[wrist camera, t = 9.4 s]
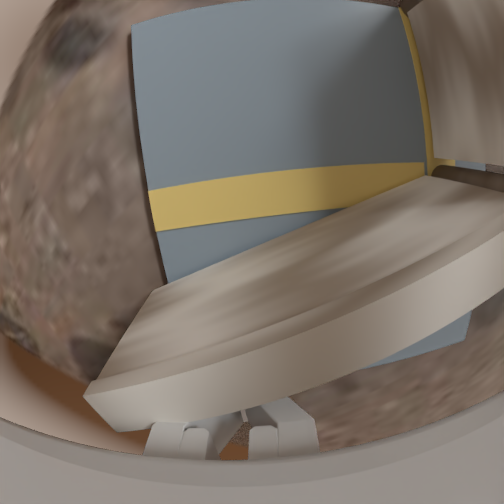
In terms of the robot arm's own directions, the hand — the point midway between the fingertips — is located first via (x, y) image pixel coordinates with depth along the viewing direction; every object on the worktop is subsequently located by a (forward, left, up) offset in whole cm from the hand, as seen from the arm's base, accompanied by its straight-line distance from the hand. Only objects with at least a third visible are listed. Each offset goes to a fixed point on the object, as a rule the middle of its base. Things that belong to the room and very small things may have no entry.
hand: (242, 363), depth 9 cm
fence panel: (-3, +2, -3) cm, 5 cm away
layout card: (-4, +5, -4) cm, 7 cm away
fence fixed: (-9, +9, -3) cm, 13 cm away
